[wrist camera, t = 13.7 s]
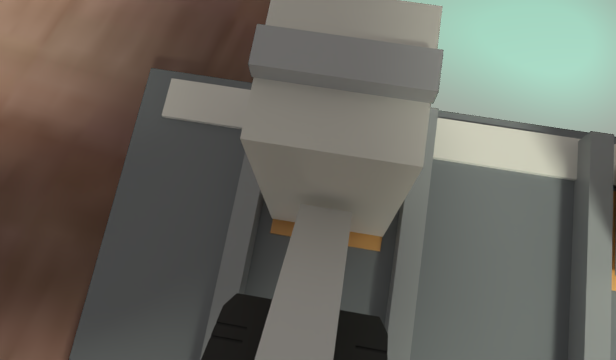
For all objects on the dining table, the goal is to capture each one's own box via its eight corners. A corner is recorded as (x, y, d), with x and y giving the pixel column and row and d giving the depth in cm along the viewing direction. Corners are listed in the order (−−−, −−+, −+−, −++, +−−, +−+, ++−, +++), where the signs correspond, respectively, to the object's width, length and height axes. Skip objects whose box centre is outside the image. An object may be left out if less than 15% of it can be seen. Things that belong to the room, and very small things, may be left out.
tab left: (398, 132, 20) (450, -10, 12) (384, 237, 19) (431, 158, 11) (290, 116, 21) (270, -33, 12) (270, 218, 20) (233, 127, 11)
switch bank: (842, 192, 22) (928, 167, 19) (893, 671, 17) (1016, 741, 14) (164, 90, 24) (141, 52, 21) (54, 496, 19) (4, 525, 16)
